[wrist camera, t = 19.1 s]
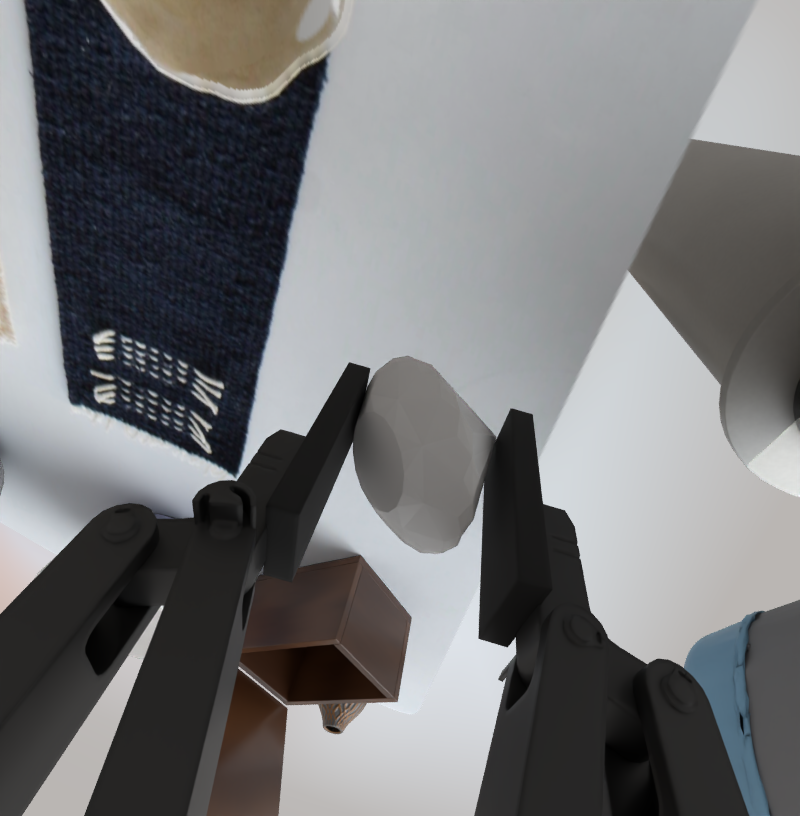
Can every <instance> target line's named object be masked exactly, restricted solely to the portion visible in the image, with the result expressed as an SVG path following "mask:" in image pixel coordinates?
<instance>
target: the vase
mask: <svg viewBox="0 0 800 816" xmlns="http://www.w3.org/2000/svg"><path fill="white" fill-rule="evenodd" d="M318 705H319V708H320V711H321V714H322V720H323V728H324V729H325V730H326V731H328V732H330V733H333V734H341V733H342V732H343V731H344V729H345V728H346V726H347V725H348V724H349V723H350V722H351V721H352V720H353V719H354V718H355V717H357V716H358V715H359V714H360V713H361V711H362V710H363V709H364V707H365V705H366V703H343V704H318Z"/></svg>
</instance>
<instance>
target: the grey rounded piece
mask: <svg viewBox="0 0 800 816" xmlns="http://www.w3.org/2000/svg"><path fill="white" fill-rule="evenodd" d="M495 440H496V436H495V435H494V434H493V433H492V431H491V430H490V429H489V428H488V427H487V426H486V425H485V424H484V423H483V421H482V420H481V419H480V418H479V417H478V416H477V415H476V414H475V412H474V411H473V410H472V409H471V408H470V407H469V406H468V405H467V404H466V402H465V401H464V400H463V399H462V398H461V397H460V396H459V395H458V394H457V392H456V391H455V390H454V389H453V388H452V387H451V386H450V385H449V384H448V382H447V381H446V380H445V379H444V378H443V377H442V376H441V375H440V373H439V372H438V371H437V370H436V369H435V368H434V367H433V366H432V365H431V364H428V363H425V362H422V361H419V360H416V359H414V358H412V357H409V356H405V357H399V358H393V359H392V360H391V361H389V362H388V363H387V364H385V365H384V366H383V367H382V368H380V369H379V370H378V371H376V373H375V375H374V376H373V378H372V380H371V382H370V383H369V385H368V387H367V390H366V393H365V396H364V400H363V403H362V406H361V409H360V412H359V416H358V419H357V422H356V426H355V431H354V438H353V456H354V463H355V470H356V473H357V476H358V479H359V483H360V486H361V488H362V490H363V492H364V493H365V495H366V497H367V499H368V501H369V502H370V504H371V505H372V507H373V508H374V510H375V511H376V513H377V514H378V515H379V516H380V518H381V519H382V520H383V521H384V522H385V524H386V525H387V526H388V527H389V528H390V529H391V530H392V531H393V532H394V533H395V534H396V535H397V536H398V538H399V539H401V540H402V541H403V542H404V543H405V544H407V545H409V546H410V547H412V548H414V549H415V550H417V551H418V552H420V553H431V554H439V553H443V552H445V551H447V550H450V549H452V548H454V547H456V546H457V545H458V543H459V541H460V538H461V536H462V535H463V533H464V532H465V530H466V529H467V528H468V526H469V525H470V524H471V522H472V521H473V519H474V516H475V512H476V508H477V505H478V501H479V498H480V494H481V491H482V487H483V483H484V480H485V476H486V473H487V469H488V465H489V462H490V458H491V455H492V451H493V448H494V444H495Z"/></svg>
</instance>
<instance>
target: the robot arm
mask: <svg viewBox="0 0 800 816" xmlns="http://www.w3.org/2000/svg"><path fill="white" fill-rule="evenodd" d="M369 373H370V368H367V367H364V366H360V365H357V364H353V363H350V362H349V364H348V365H347V367H346V369H345V370H344V372H343V374H342V376H341V377H340V379H339V381H338V382H337V384H336V386H335V388H334V389H333V391H332V393H331V394H330V396H329V398H328V400H327V401H326V403H325V405H324V406H323V408H322V410H321V412H320V413H319V415H318V417H317V418H316V420H315V422H314V424H313V425H312V427H311V429H310V430H309V432H308V434H307V436H306V437H305V436H302V435H299V434H295V433H292V432H288V431H285V430H279V431H278V432H276V433H274V434H273V435H271V436H270V437H268V438H266V440H265V441H264V443H263V444H262V446H261V447H260V448H259V450H258V452H257V453H256V454H255V456H254V457H253V458H252V460H251V462H250V464H248V466H247V467H246V468H245V470H244V471H243V473H242V474H241V476H240V477H239V479H238V480H237V481H233V480H228V481H218V482H215V483H212V484H209V485H207V486H206V487H204V488H203V489H201V490H200V491H198V493H197V494H196V496H195V497H194V498H193V500H192V503H193V512H194V518H184V519H156V516H155V515H154V513H153V512H152V510H151V509H149V508H147V507H145V506H143V505H140V504H132V503H128V504H122V505H116V506H114V507H111V508H109V509H107V510H104V511H102V512H101V513H100V514H99V515H97V516H96V517H95V518H93V519H92V520H91V521H90V522H89V523H88V524H87V525H86V526H85V527H84V528H83V529H82V530H81V531H80V532H79V534H78V535H77V536H76V537H75V538H74V539H73V540H72V541H71V542H70V543H69V544H68V545H67V546H66V547H65V548H64V549H63V550H62V551H61V552H60V553H59V554H58V555H57V556H56V557H55V558H54V559H53V560H52V561H51V562H50V563H49V564H48V565H47V566H46V568H45V569H44V570H43V571H42V572H41V573H40V574H39V575H38V576H37V577H36V578H35V579H34V580H33V581H32V582H31V583H30V584H29V585H28V586H27V587H26V588H25V589H24V590H23V591H22V592H21V594H19V595H18V596H17V597H16V598H15V599H14V600H13V602H12V603H11V604H10V605H9V606H8V607H7V608H6V609H5V610H4V611H3V612H2V613H1V614H0V816H22V814H23V813H24V812H25V810H26V809H27V807H28V805H29V804H30V803H31V801H32V799H33V798H34V796H35V795H36V793H37V792H38V790H39V789H40V787H41V786H42V784H43V783H44V781H45V780H46V778H47V777H48V775H49V774H50V772H51V771H52V769H53V768H54V766H55V765H56V763H57V762H58V760H59V759H60V757H61V756H62V754H63V753H64V751H65V750H66V748H67V747H68V745H69V744H70V742H71V741H72V739H73V738H74V736H75V735H76V733H77V732H78V730H79V728H80V727H81V726H82V724H83V723H84V721H85V720H86V718H87V717H88V715H89V714H90V712H91V711H92V709H93V708H94V706H95V705H96V703H97V702H98V700H99V699H100V697H101V695H102V694H103V693H104V691H105V690H106V688H107V686H108V685H109V683H110V682H111V680H112V679H113V677H114V676H115V674H116V673H117V671H118V670H119V668H120V667H121V665H122V664H123V662H124V661H125V659H126V658H127V656H128V655H129V653H130V652H131V650H132V649H133V647H134V646H135V644H136V643H137V641H138V640H139V638H140V637H141V635H142V634H143V632H144V631H145V629H146V628H147V626H148V625H149V623H150V622H151V620H152V619H153V617H154V616H155V614H156V613H157V611H158V610H159V608H160V607H161V606H164V607H163V610H162V613H161V615H160V618H159V620H158V623H157V626H156V628H155V631H154V634H153V636H152V639H151V641H150V644H149V647H148V649H147V652H146V655H145V657H144V660H143V663H142V665H141V668H140V670H139V673H138V676H137V679H136V681H135V683H134V686H133V689H132V691H131V694H130V697H129V699H128V702H127V705H126V707H125V710H124V713H123V715H122V718H121V720H120V723H119V726H118V728H117V731H116V734H115V736H114V739H113V741H112V744H111V747H110V749H109V752H108V754H107V757H106V760H105V763H104V765H103V768H102V770H101V773H100V775H99V778H98V781H97V783H96V786H95V789H94V792H93V794H92V797H91V799H90V802H89V805H88V807H87V810H86V812H85V815H84V816H206V815H207V810H208V805H209V801H210V796H211V792H212V787H213V782H214V778H215V773H216V768H217V764H218V759H219V754H220V750H221V745H222V741H223V736H224V731H225V727H226V722H227V717H228V713H229V708H230V704H231V699H232V694H233V690H234V685H235V680H236V676H237V671H238V666H239V662H240V657H241V653H242V648H243V643H244V639H245V634H246V629H247V625H248V620H249V616H250V611H251V606H252V602H253V597H254V592H255V580H256V578H257V576H258V574H259V572H260V571H261V569H262V567H263V565H264V571H263V574H264V575H267V576H270V577H274V578H277V579H281V580H284V581H287V582H291V583H292V581H293V579H294V576H295V574H296V572H297V569H298V567H299V565H300V562H301V560H302V558H303V556H304V553H305V551H306V549H307V546H308V544H309V542H310V539H311V537H312V535H313V532H314V530H315V528H316V525H317V523H318V521H319V519H320V516H321V514H322V512H323V509H324V507H325V505H326V502H327V500H328V498H329V495H330V493H331V491H332V489H333V486H334V484H335V482H336V479H337V477H338V475H339V472H340V470H341V468H342V465H343V463H344V461H345V458H346V456H347V454H348V452H349V449H350V447H351V445H352V442H353V438H354V431H355V426H356V422H357V419H358V416H359V412H360V409H361V406H362V403H363V400H364V396H365V393H366V388H367V383H368V378H369ZM793 412H794V418H795V422H796V425H797V428H798V430H799V431H800V379H799V381H798V384H797V387H796V391H795V395H794V402H793ZM579 557H580V553H579V548H578V546H577V537H576V532H575V526H574V525H573V523H572V521H571V520H570V518H569V517H568V515H567V513H566V512H565V510H561V509H558V508H554V507H551V506H548V505H544V504H543V501H542V493H541V484H540V474H539V466H538V457H537V448H536V439H535V431H534V422H533V414H529V413H526V412H522V411H519V410H515V409H512V408H511V409H510V411H509V413H508V416H507V418H506V420H505V422H504V424H503V427H502V429H501V431H500V433H499V435H498V437H497V440H496V442H495V444H494V448H493V451H492V455H491V458H490V462H489V465H488V469H487V473H486V476H485V480H484V502H483V529H482V557H481V584H480V586H481V587H480V613H479V639H481V640H485V641H488V642H491V643H495V644H498V645H501V646H505V647H508V646H509V645H510V644H511V642H512V641H513V640H514V639H515V637H516V655H515V656H514V658H513V659H512V660H511V661H510V663H509V664H508V665H507V666H506V667H505V669H504V670H503V671H502V673H501V675H500V677H499V680H500V681H502V682H503V680H504V679H505V678H506V682H505V686H504V690H503V694H502V699H501V704H500V708H499V712H498V716H497V720H496V725H495V729H494V733H493V738H492V742H491V747H490V751H489V755H488V760H487V764H486V768H485V772H484V776H483V781H482V785H481V789H480V794H479V798H478V802H477V807H476V811H475V815H474V816H800V600H798V601H795V602H792V603H790V604H787V605H784V606H781V607H778V608H775V609H772V610H769V611H767V612H765V611H759V612H754V613H752V614H750V615H746V616H745V618H744V619H743V620H742V621H741V622H738V623H736V624H733V625H731V626H729V627H726V628H724V629H722V630H719V631H717V632H714V633H711V634H709V635H707V636H705V637H703V638H701V639H700V640H699V641H698V642H697V643H696V644H695V645H694V646H693V647H692V648H691V650H690V652H689V653H688V656H687V658H686V662H685V665H684V668H683V667H681V666H680V665H678V664H676V663H674V662H672V661H670V660H664V659H656V660H654V661H652V662H650V663H649V664H646V663H644V662H643V661H641V660H639V659H638V658H636V657H634V656H633V655H631V654H630V653H628V652H627V651H625V650H623V649H622V648H620V647H619V646H617V645H616V644H615V643H613V642H612V641H611V640H610V639H608V637H607V634H606V632H605V630H604V628H603V626H602V624H601V623H600V622H599V621H598V619H597V618H596V617H595V616H594V615H593V614H592V613H591V611H590V607H589V602H588V597H587V592H586V586H585V581H584V575H583V570H582V564H581V560H580V559H579Z"/></svg>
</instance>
